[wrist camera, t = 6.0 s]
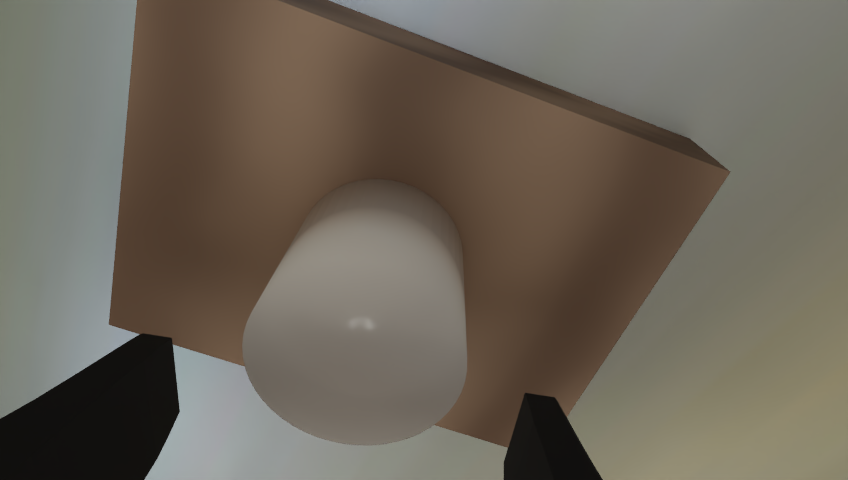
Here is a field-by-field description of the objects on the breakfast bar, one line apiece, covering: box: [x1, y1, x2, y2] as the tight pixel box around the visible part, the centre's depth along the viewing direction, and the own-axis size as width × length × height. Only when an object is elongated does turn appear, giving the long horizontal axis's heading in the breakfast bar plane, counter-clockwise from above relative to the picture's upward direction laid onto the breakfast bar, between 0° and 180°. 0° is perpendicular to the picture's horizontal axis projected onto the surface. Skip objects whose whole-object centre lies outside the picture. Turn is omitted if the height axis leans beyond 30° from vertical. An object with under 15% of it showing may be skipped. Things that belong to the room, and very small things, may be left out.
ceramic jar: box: [242, 179, 467, 445], centre depth 14 cm, size 5×5×5 cm
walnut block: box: [109, 0, 730, 447], centre depth 18 cm, size 16×12×4 cm
